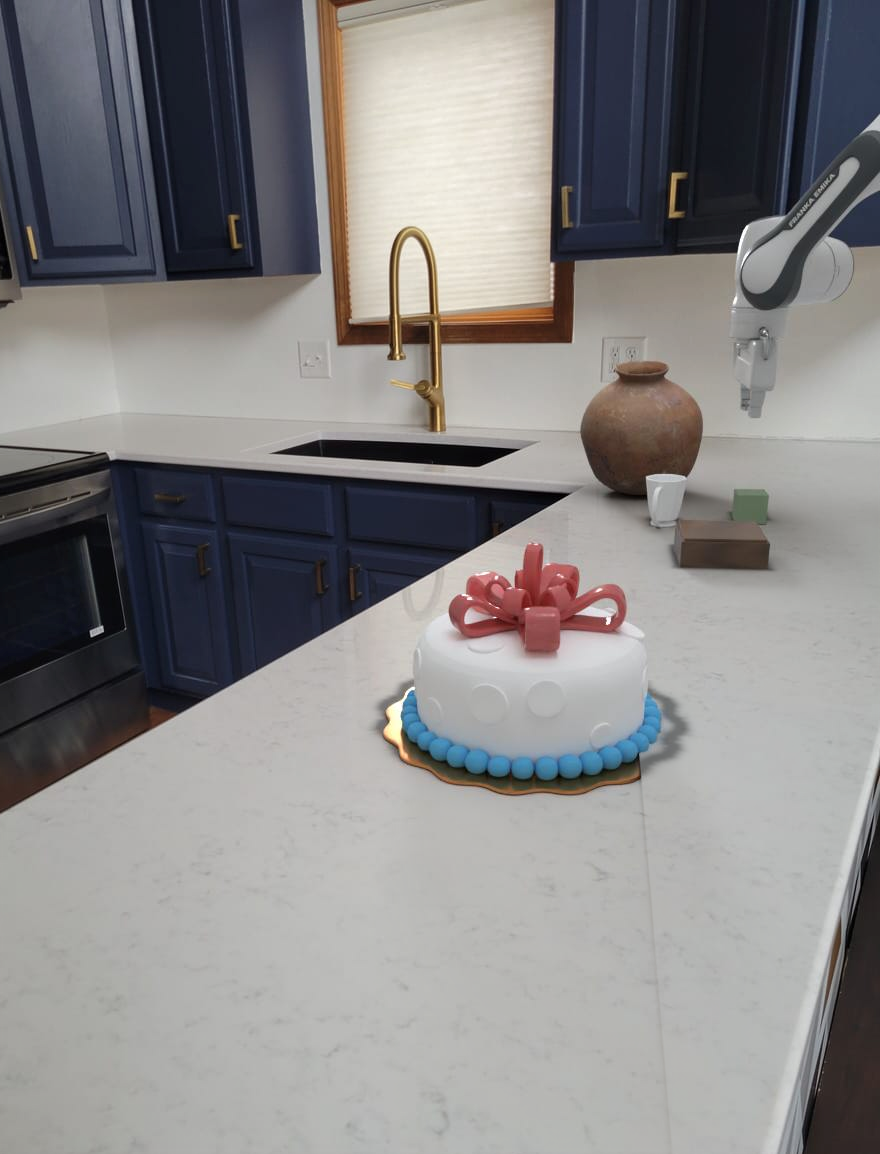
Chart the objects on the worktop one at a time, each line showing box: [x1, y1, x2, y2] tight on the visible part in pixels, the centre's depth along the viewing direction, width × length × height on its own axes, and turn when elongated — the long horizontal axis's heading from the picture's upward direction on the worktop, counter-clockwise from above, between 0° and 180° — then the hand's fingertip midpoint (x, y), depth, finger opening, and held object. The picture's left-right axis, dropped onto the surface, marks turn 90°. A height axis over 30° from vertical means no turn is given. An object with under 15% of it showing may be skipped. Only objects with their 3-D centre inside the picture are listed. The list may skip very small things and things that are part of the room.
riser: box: [672, 519, 771, 570], centre depth 141 cm, size 12×12×5 cm
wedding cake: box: [382, 542, 663, 796], centre depth 89 cm, size 28×28×18 cm
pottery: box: [579, 360, 704, 496], centre depth 185 cm, size 23×23×25 cm
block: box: [731, 488, 770, 525], centre depth 165 cm, size 5×5×5 cm
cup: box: [646, 474, 688, 529], centre depth 162 cm, size 7×10×8 cm
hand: (749, 413), depth 159 cm, fingers open, 8 cm apart
